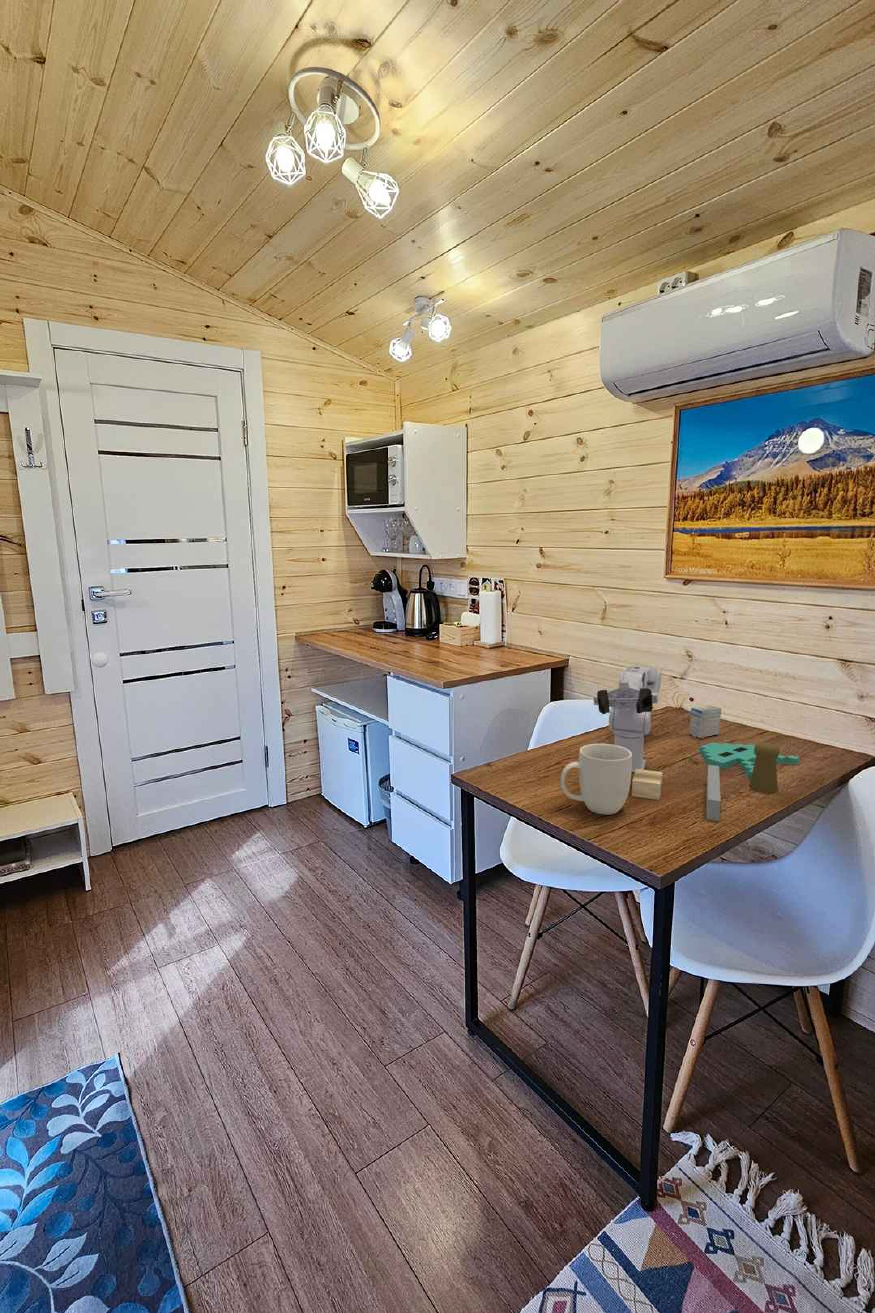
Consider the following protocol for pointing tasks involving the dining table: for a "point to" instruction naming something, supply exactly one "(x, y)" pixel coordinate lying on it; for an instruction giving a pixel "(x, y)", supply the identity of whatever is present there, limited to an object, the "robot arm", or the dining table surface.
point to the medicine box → (705, 720)
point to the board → (713, 793)
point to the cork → (765, 768)
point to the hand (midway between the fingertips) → (620, 709)
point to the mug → (602, 777)
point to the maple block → (647, 784)
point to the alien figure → (736, 756)
